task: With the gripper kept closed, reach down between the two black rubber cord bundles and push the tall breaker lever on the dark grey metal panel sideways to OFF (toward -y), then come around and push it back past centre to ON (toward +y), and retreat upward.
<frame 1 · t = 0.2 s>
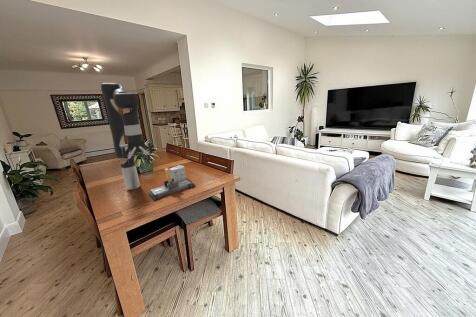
hand: (140, 163, 104), 29 cm above the table, fingers open, 8 cm apart
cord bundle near: (155, 195, 130), on the table
light bulb box: (178, 180, 155), on the table
cord bundle far: (187, 184, 144), on the table
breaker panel: (172, 190, 137), on the table
breaker lever: (169, 177, 134), point 10 cm above the table, hinge at -6.0°
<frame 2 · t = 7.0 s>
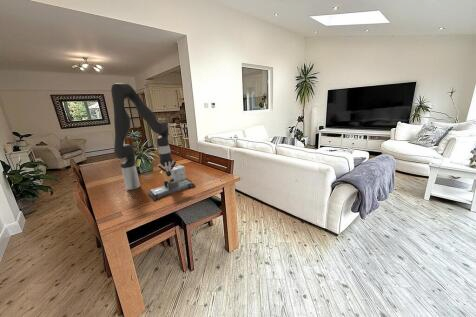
hand: (169, 175, 133), 11 cm above the table, fingers closed
breaker lever: (166, 178, 133), point 9 cm above the table, hinge at -21.4°, touching hand
everything else where it was.
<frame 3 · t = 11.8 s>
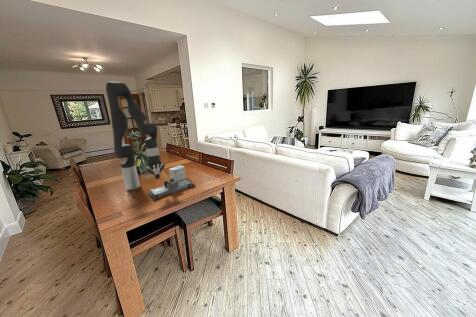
hand: (157, 178, 129), 11 cm above the table, fingers closed
breaker lever: (166, 178, 133), point 9 cm above the table, hinge at -21.1°, touching gripper
everything else where it was.
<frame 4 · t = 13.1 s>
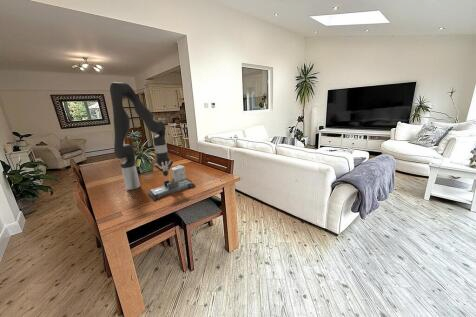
hand: (165, 175, 132), 12 cm above the table, fingers closed
breaker lever: (170, 177, 134), point 10 cm above the table, hinge at 6.2°, touching gripper, hand
everything else where it was.
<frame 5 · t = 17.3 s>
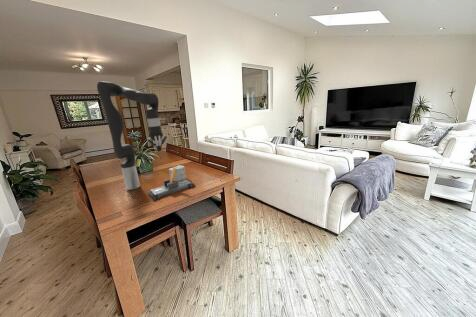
hand: (159, 151, 129), 29 cm above the table, fingers closed
breaker lever: (172, 177, 135), point 9 cm above the table, hinge at 21.7°
everything else where it was.
at the end: breaker lever at +22° (first picture: -6°); light bulb box moved 0.3 cm from its start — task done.
